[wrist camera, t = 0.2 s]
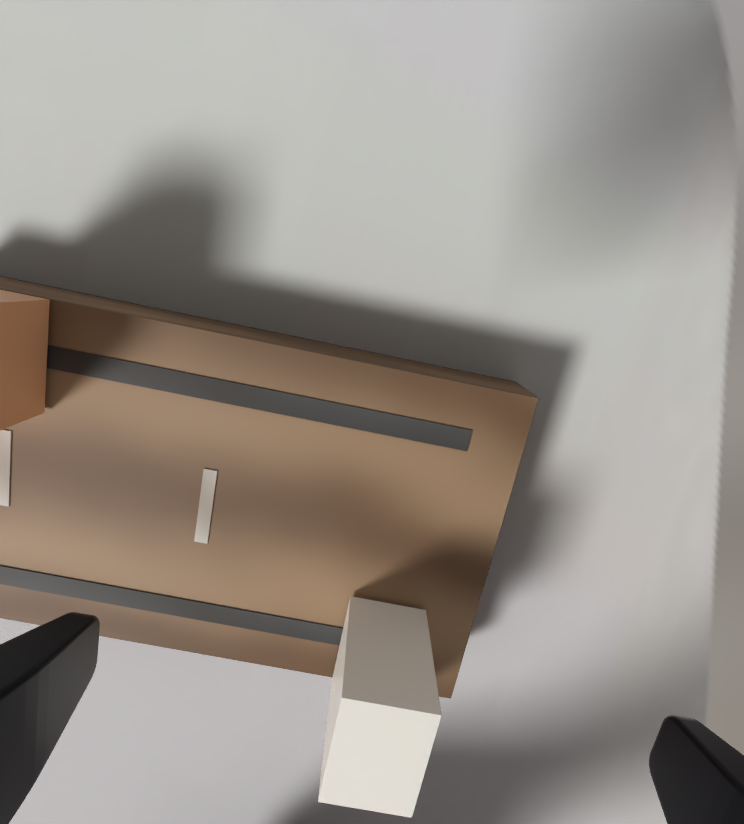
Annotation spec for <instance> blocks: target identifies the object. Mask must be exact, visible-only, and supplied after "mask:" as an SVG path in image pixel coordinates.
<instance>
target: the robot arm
mask: <svg viewBox="0 0 744 824" xmlns="http://www.w3.org/2000/svg"><path fill="white" fill-rule="evenodd" d="M99 629H100V623H99V619H98V618H97V617H96V616H95V615H89V614H84V613H78V612H70V613H67V614H64V615H62V616H60V617H58V618H56V619H54V620H52V621H50V622H47V623H45V624H43V625H41V626H39V627H37V628H35V629H32V630H30V631H28V632H26V633H24V634H22V635H20V636H18V637H15V638H13V639H11V640H9V641H7V642H5V643H3V644H1V645H0V824H9V822H10V821H11V819H12V818H13V816H14V815H15V813H16V812H17V810H18V809H19V807H20V805H21V804H22V802H23V801H24V799H25V798H26V796H27V794H28V793H29V791H30V790H31V788H32V787H33V785H34V783H35V782H36V780H37V778H38V776H39V774H40V773H41V771H42V769H43V767H44V766H45V764H46V762H47V760H48V758H49V756H50V754H51V753H52V751H53V749H54V747H55V745H56V743H57V741H58V740H59V738H60V736H61V734H62V732H63V730H64V728H65V727H66V725H67V723H68V721H69V719H70V717H71V715H72V714H73V712H74V710H75V708H76V706H77V704H78V702H79V701H80V699H81V697H82V695H83V693H84V691H85V689H86V688H87V686H88V684H89V682H90V680H91V678H92V676H93V673H94V671H95V668H96V663H97V654H98V641H99ZM649 767H650V772H651V776H652V779H653V782H654V785H655V788H656V791H657V794H658V797H659V800H660V803H661V806H662V809H663V812H664V815H665V818H666V821H667V824H744V755H742V754H741V753H739V752H738V751H737V750H736V749H734V748H733V747H732V746H730V745H729V744H728V743H726V742H725V741H724V740H722V739H721V738H720V737H719V736H717V735H716V734H715V733H713V732H712V731H711V730H709V729H708V728H707V727H705V726H704V725H703V724H701V723H700V722H698V721H697V720H695V719H691V718H686V717H680V716H674V715H671V716H668V717H667V718H665V719H664V721H663V723H662V725H661V728H660V730H659V733H658V735H657V738H656V740H655V743H654V745H653V748H652V750H651V753H650V758H649Z"/></svg>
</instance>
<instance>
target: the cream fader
mask: <svg viewBox="0 0 744 824" xmlns="http://www.w3.org/2000/svg"><path fill="white" fill-rule="evenodd" d="M440 719H441V709H440V702H439V695H438V688H437V682H436V675H435V668H434V661H433V655H432V648H431V641H430V634H429V627H428V621H427V614H426V610H423V609H417V608H412V607H406V606H401V605H396V604H390V603H385V602H379V601H374V600H369V599H363V598H358V597H352V596H350V600H349V605H348V609H347V614H346V618H345V623H344V627H343V632H342V636H341V641H340V645H339V650H338V654H337V659H336V664H335V668H334V673H333V677H332V682H331V691H330V700H329V709H328V718H327V726H326V735H325V744H324V753H323V761H322V770H321V779H320V788H319V796H318V802H321V803H327V804H333V805H339V806H345V807H351V808H357V809H363V810H369V811H375V812H381V813H386V814H392V815H398V816H404V817H410V818H412V815H413V812H414V808H415V805H416V802H417V798H418V795H419V791H420V788H421V784H422V781H423V777H424V774H425V771H426V767H427V764H428V760H429V757H430V753H431V750H432V746H433V743H434V739H435V736H436V733H437V729H438V726H439V722H440Z"/></svg>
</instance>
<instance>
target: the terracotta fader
mask: <svg viewBox="0 0 744 824" xmlns="http://www.w3.org/2000/svg"><path fill="white" fill-rule="evenodd" d="M49 304H50V300H49V299H44V298H39V297H34V296H30V295H25V294H20V293H15V292H10V291H5V290H0V430H3V429H5V428H8V427H10V426H13V425H15V424H18V423H20V422H23V421H25V420H28V419H30V418H33V417H35V416H38V415H40V414H43V413H44V412H45V390H46V369H47V347H48V325H49Z"/></svg>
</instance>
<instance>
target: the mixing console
mask: <svg viewBox="0 0 744 824" xmlns="http://www.w3.org/2000/svg"><path fill="white" fill-rule="evenodd" d="M0 290H5V291H10V292H15V293H20V294H25V295H30V296H34V297H39V298H44V299H49V300H50V304H49V325H48V347H47V369H46V390H45V412H44V413H43V414H40V415H38V416H35V417H33V418H30V419H28V420H25V421H23V422H20V423H18V424H15V425H13V426H10V427H8V428H5V429H3V430H0V618H3V619H9V620H14V621H20V622H26V623H31V624H37V625H43V624H45V623H47V622H50V621H52V620H54V619H56V618H58V617H60V616H62V615H64V614H67V613H70V612H78V613H84V614H89V615H95V616H96V617H97V618H98V619H99V623H100V629H99V636H104V637H110V638H115V639H121V640H126V641H132V642H138V643H143V644H149V645H154V646H160V647H166V648H171V649H177V650H182V651H188V652H194V653H199V654H205V655H210V656H216V657H222V658H227V659H233V660H238V661H244V662H250V663H255V664H261V665H266V666H272V667H278V668H283V669H289V670H294V671H300V672H306V673H311V674H317V675H322V676H328V677H333V673H334V668H335V664H336V659H337V654H338V650H339V645H340V641H341V636H342V632H343V627H344V623H345V618H346V614H347V609H348V605H349V600H350V596H352V597H358V598H363V599H369V600H374V601H379V602H385V603H390V604H396V605H401V606H406V607H412V608H417V609H423V610H426V614H427V621H428V627H429V634H430V641H431V648H432V655H433V661H434V668H435V675H436V682H437V688H438V695H439V696H440V697H446V698H451V696H452V693H453V689H454V686H455V682H456V679H457V676H458V672H459V669H460V665H461V662H462V658H463V655H464V652H465V648H466V645H467V641H468V638H469V635H470V631H471V628H472V624H473V621H474V617H475V614H476V611H477V607H478V604H479V600H480V597H481V594H482V590H483V587H484V583H485V580H486V576H487V573H488V570H489V566H490V563H491V559H492V556H493V553H494V549H495V546H496V542H497V539H498V535H499V532H500V529H501V525H502V522H503V518H504V515H505V511H506V508H507V505H508V501H509V498H510V494H511V491H512V488H513V484H514V481H515V477H516V474H517V470H518V467H519V464H520V460H521V457H522V453H523V450H524V447H525V443H526V440H527V436H528V433H529V429H530V426H531V423H532V419H533V416H534V412H535V409H536V405H537V402H538V399H539V398H537V397H536V396H535V395H533V394H532V393H530V392H529V391H528V390H526V389H525V388H524V387H522V386H521V385H520V384H518V383H517V382H513V381H508V380H504V379H499V378H494V377H489V376H484V375H479V374H474V373H469V372H464V371H460V370H455V369H450V368H445V367H440V366H435V365H430V364H425V363H421V362H416V361H411V360H406V359H401V358H396V357H391V356H386V355H382V354H377V353H372V352H367V351H362V350H357V349H352V348H347V347H343V346H338V345H333V344H328V343H323V342H318V341H313V340H308V339H304V338H299V337H294V336H289V335H284V334H279V333H274V332H269V331H264V330H260V329H255V328H250V327H245V326H240V325H235V324H230V323H225V322H221V321H216V320H211V319H206V318H201V317H196V316H191V315H186V314H182V313H177V312H172V311H167V310H162V309H157V308H152V307H147V306H143V305H138V304H133V303H128V302H123V301H118V300H113V299H108V298H104V297H99V296H94V295H89V294H84V293H79V292H74V291H69V290H64V289H60V288H55V287H50V286H45V285H40V284H35V283H30V282H25V281H21V280H16V279H11V278H6V277H1V276H0Z"/></svg>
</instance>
